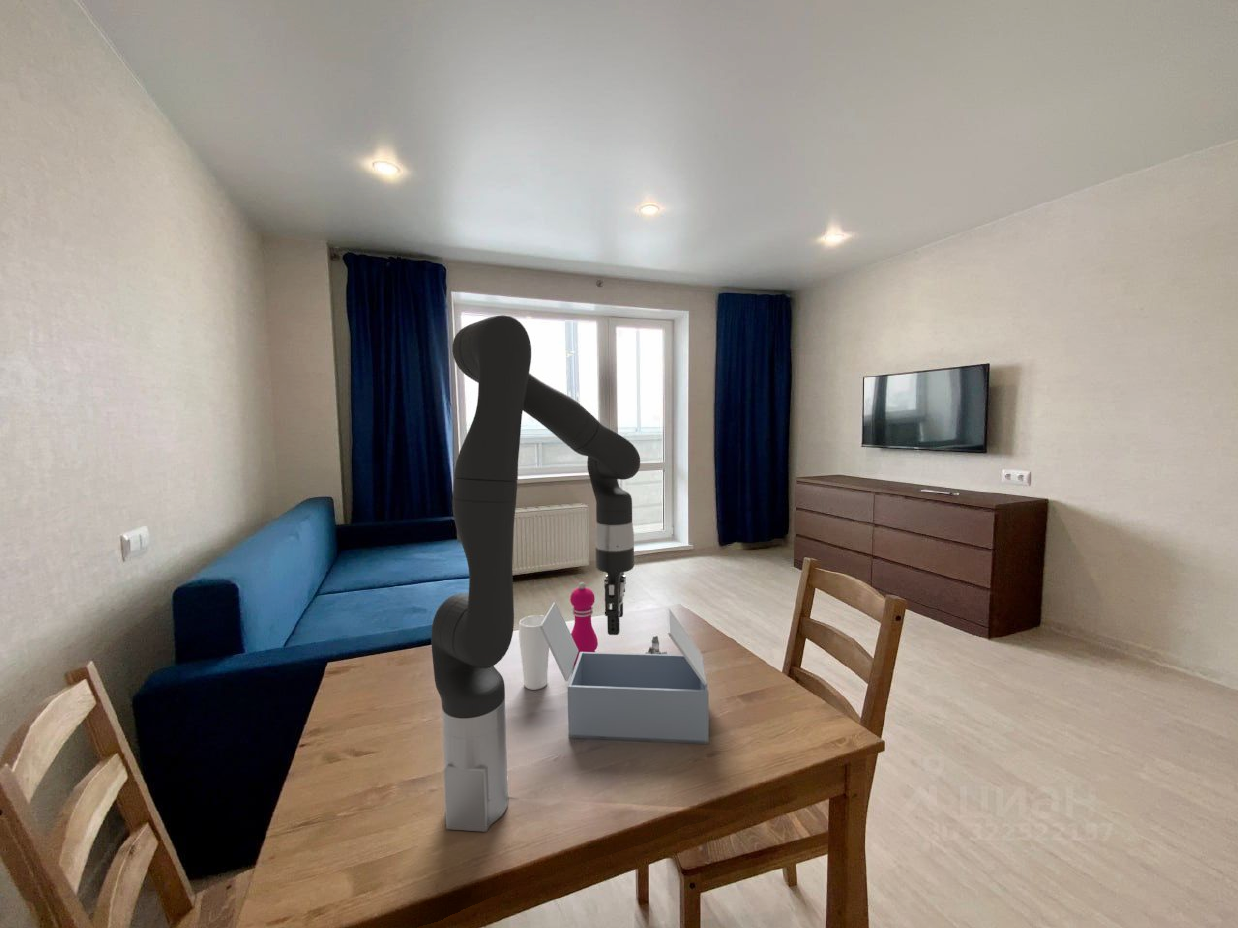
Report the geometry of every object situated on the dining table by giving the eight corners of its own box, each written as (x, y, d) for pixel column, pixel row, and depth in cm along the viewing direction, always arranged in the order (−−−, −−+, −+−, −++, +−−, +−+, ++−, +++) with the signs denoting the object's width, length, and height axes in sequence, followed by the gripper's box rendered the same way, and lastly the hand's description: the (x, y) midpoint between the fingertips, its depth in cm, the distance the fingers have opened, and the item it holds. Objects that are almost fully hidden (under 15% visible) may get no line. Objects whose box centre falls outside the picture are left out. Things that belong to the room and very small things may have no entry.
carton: (708, 744, 89) (708, 691, 88) (568, 737, 91) (567, 686, 90) (702, 700, 103) (702, 655, 102) (580, 696, 105) (580, 651, 104)
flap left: (541, 625, 91) (539, 626, 91) (567, 680, 91) (565, 681, 91) (555, 601, 103) (553, 602, 103) (578, 650, 103) (576, 651, 103)
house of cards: (690, 670, 116) (690, 640, 115) (658, 679, 113) (657, 647, 112) (671, 654, 124) (671, 625, 124) (640, 661, 121) (640, 632, 120)
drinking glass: (553, 677, 113) (552, 615, 112) (546, 693, 106) (545, 627, 105) (525, 676, 114) (523, 614, 113) (516, 692, 107) (514, 626, 106)
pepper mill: (565, 657, 123) (563, 580, 121) (591, 651, 126) (590, 576, 124) (574, 670, 116) (573, 588, 115) (602, 663, 119) (601, 584, 118)
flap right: (704, 685, 89) (706, 683, 89) (667, 634, 89) (670, 632, 89) (699, 654, 101) (701, 653, 101) (667, 609, 101) (669, 607, 101)
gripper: (631, 554, 87) (632, 641, 89) (635, 536, 101) (636, 611, 103) (590, 554, 88) (591, 640, 89) (600, 535, 102) (601, 610, 103)
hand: (615, 624), depth 96 cm, fingers open, 8 cm apart
